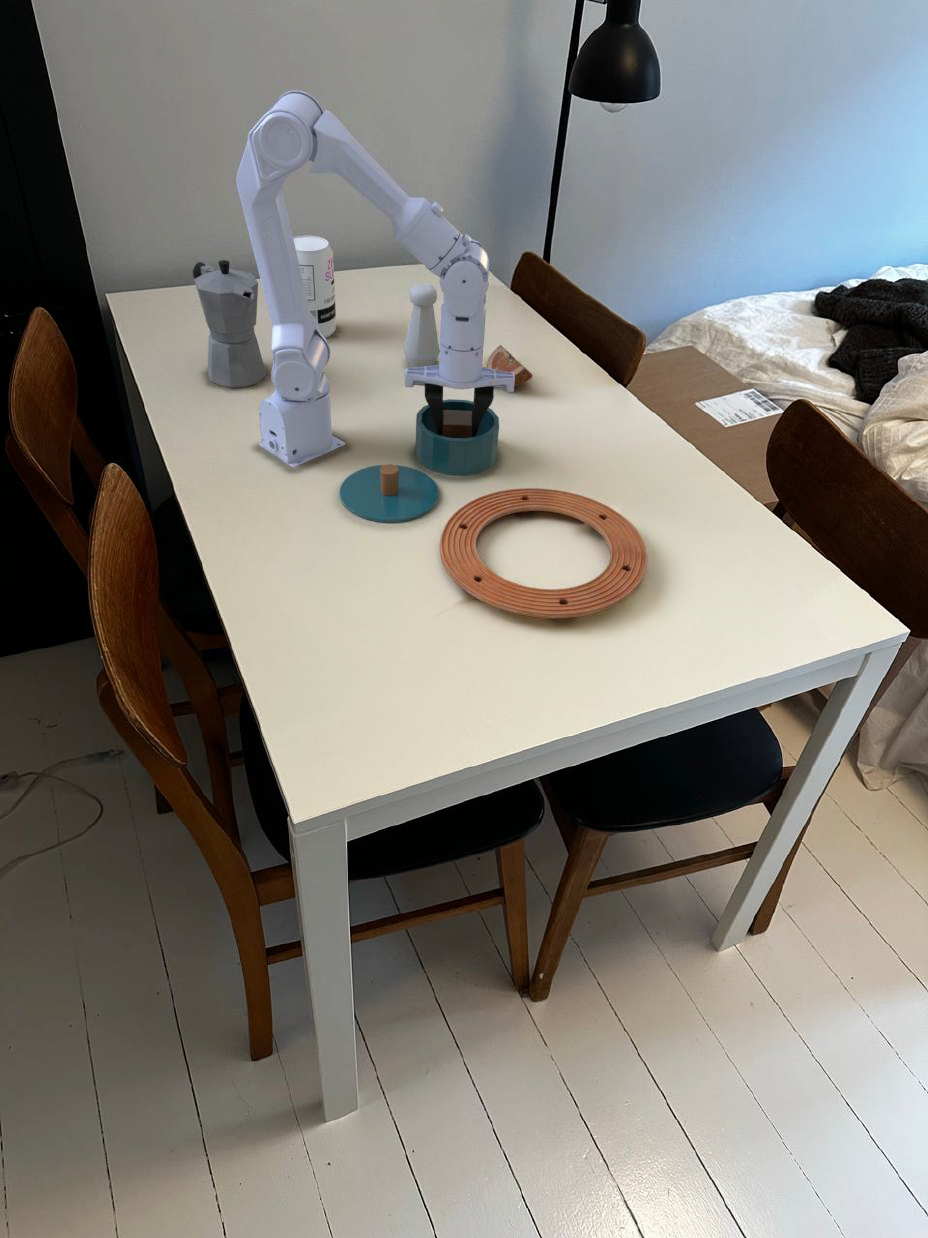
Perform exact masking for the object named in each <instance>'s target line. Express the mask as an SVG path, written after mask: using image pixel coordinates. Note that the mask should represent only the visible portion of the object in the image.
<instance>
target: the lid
mask: <svg viewBox="0 0 928 1238" xmlns="http://www.w3.org/2000/svg"><path fill="white" fill-rule="evenodd" d="M437 485H438V484H436V482H435V481H434V480H433V479H432V477H430V475H428V474H426V473H425V472H423V471H421V470H418V469H416V468H413V467H410V466H405V465H398V464H390V463H389V464H388V463H387V464H378V465H372V466H368V467H365V468H361V469H358V470H357V471H354V472H353V473H351V474H350V475H348V476H347V477H346V478H345V479H344V481H343V482H342V483H341V485H340V488H339V498H340V501H341V503H342V505H343V506H344V508H346V510H348V511H349V512H350V513H352V514H354V515H355V516H357V517H358V518H361V519H363V520H367V521H372V522H376V523H377V522H378V523H391V524H393V523H395V524H396V523H404V522H409V521H412V520H415V519H419V518H420V517H422V516H425V515H426V514H428V513H429V512H431V511H432V510H433V508H434V507H436V505H437V503H438V501H439V489H438V486H437Z"/></svg>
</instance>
